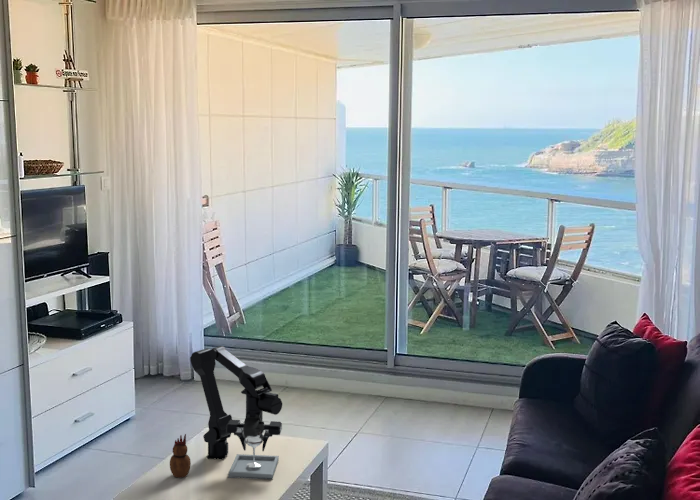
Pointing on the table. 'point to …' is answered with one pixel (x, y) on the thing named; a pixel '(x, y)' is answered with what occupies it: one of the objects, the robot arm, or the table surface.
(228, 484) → the table surface
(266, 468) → the serving tray
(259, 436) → the wineglass
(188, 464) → the wooden figurine
